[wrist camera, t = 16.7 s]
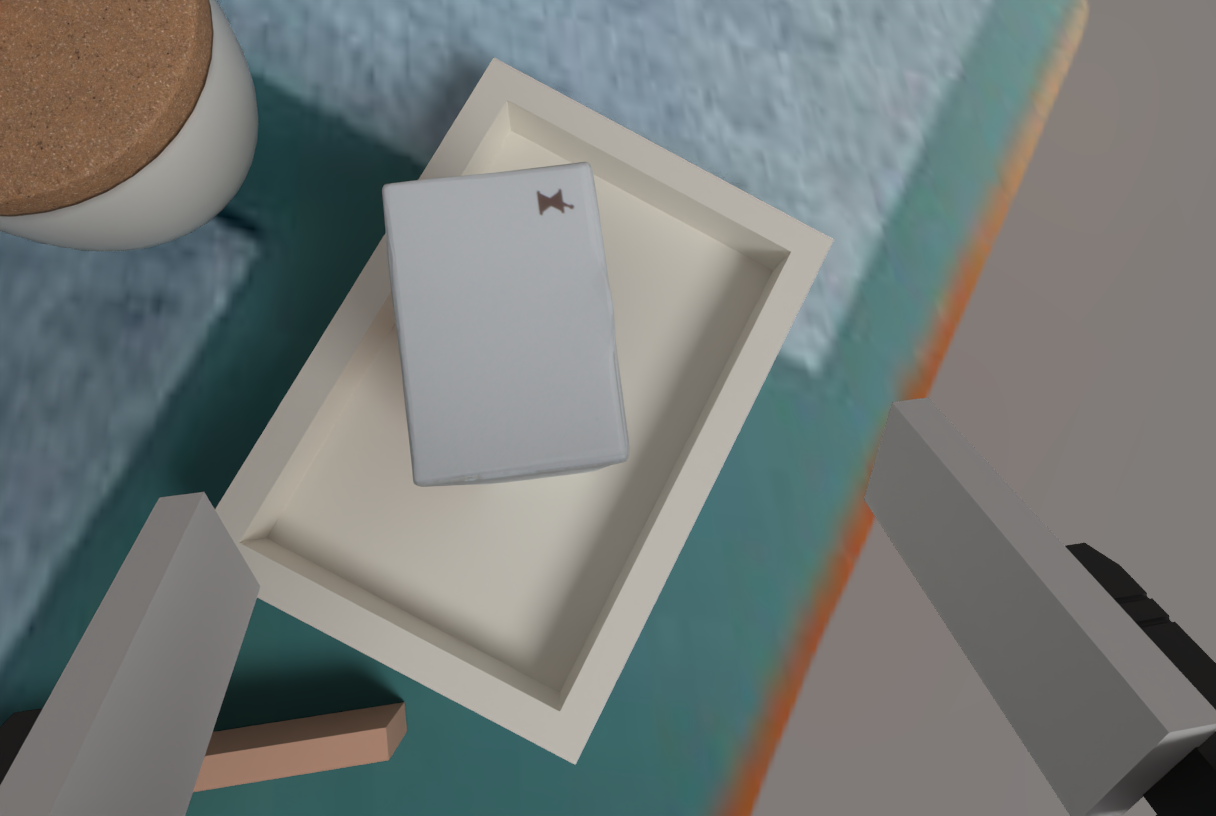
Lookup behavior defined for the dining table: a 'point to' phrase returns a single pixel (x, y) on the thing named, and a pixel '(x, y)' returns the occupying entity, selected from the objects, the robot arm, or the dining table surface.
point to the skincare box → (504, 326)
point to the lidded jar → (120, 120)
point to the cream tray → (539, 508)
